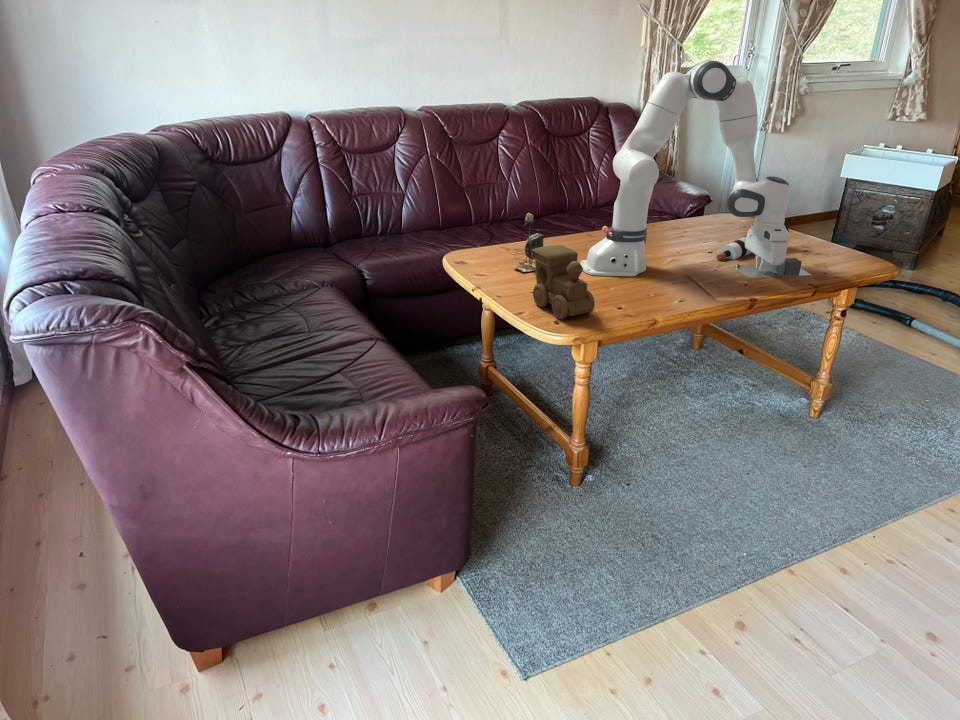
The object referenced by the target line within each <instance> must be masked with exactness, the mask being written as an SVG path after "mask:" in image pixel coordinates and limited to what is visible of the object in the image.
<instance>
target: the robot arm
mask: <svg viewBox="0 0 960 720" xmlns="http://www.w3.org/2000/svg"><path fill="white" fill-rule="evenodd" d="M692 99H698V100H703V101H714V102H715V103H716V105H717V108H718V114H719V115H718V116H719V117H718V118H719V128H720V129H719V130H720V134H721V137H722V141H723V143H724V145H725V146H727V148H728V149H729V150H730V152H731V155H732V159H733V167H734V169H733V171H734V178H735V179H734V183H733V188H732V189H731V192H730V193H729V194H730V195H728V198H727V201H726V206H727V209H728V211H729V213H730V214H731V215H732V216H734V217H736V218H750V217H753V218H754V217H755V219H754V222H753V223H752V224H751V225H750V228H749V229H748V231H747V234H746V235H747V237H746V241H745V248H746V249H748V250H749V251H751V252H753V253H752V254H753V255H755V262H756V263H755V265H756V268H757V269H758V270H760V271H765V268H766V265H767V264H768V263H770V264H771V265H782V264H783V262H784V260H785V258H787V257H786V255H787V252H788V246H789V244H788V242H789V241H790V240H791V234H790V231H789V232H788V231H787V229H786V227H785V225H784V223H785V220H786V219H785V218H786V217H785V216H786V215H785V214H786V211H787V209H788V205H789V202H790V201H789V200H790V194H791V193H790V192H791V187H790V184H789V182H788V181H787V180H786V179H783V178H781V177H777V176H766V177H764V178H763V179H761V180H758V179H757V175H756V165H755V164H756V162H755V152H754V151H755V143H756V140H757V134H758V133H757V132H758V124H759V123H758V122H759V119H758V118H759V117H758V116H759V115H758V106H757V105H758V104H757V99H756V94H755V90H754V86H753V84H752V82H751V81H750V80H749V79H745V78H735V76H734V75H733V73H732V72H731V71H730V69H729V67H728V66H727V65H725V63H723V62H721V61H717V60H713V59H710V60H703V61H701V62H698V63H696V64H695V65H693V66H691V68H689V69H688V70H687V71H685V72H684V73H682V72H679V71H670V72H666V73H665V74H664V75H663V76H662V77H661V78H660V79H659V81H658V82H657V84H656V86H655V87H654V89H653V91H652V93H651V94H650V96H649V98H648V100H647V102H646V104H645V106H644V108H643V111H642V113H640V114H641V115H640V117H639V119H638V120H637V123H636V125H635V126H634V129H633V130H632V132H631V133H629V136H628V138H627V139H626V140H625V142H624V143H623V144H622V147H621V148H620V149H619V150H618V151H617V153H616V154H615V156H614V157H613V160H612V169H613V173H614V174H615V176H616V177H617V178H618V179H619V180H620V182H619V184H620V185H619V190H618V194H617V197H616V200H615V201H614V203H613V204H614V205H613V213H612V215H613V216H612V225H611V226H609V227H608V226H607V225H604V226H602V228H601V230H602V232H603V233H604V234H605V237H603V238H602V239H601V240H600V241H598V242H597V243H595V244H594V245H592V246H591V247H590V248H589V250H588V252H587V257H586V259H584V260H580V261H579V262H580V264H581V266H582V267H583V271H582V272H584V273H586V274H588V275H590V276H606V277H607V276H611V277H636V276H638V274H642V273H644V272H646V270H647V263H646V257H645V255H646V254H645V249H646V248H645V246H646V244H647V243H646V241H647V239H648V238H647V236H648V228H647V221H648V212H649V206H650V205H649V204H650V201H651V199H652V195H653V190H654V186H655V184H656V183H657V181H658V180H659V176H660V169H659V166H658V164H657V161H656V160H655V159H654V157H655V156H656V154H657V153H658V152H659V151H660V149H661V148H662V147H663V145H664V144H666V143H667V142H668V140H669V139H670V137H671V136H672V133H673V131H674V129H675V127H676V125H677V124H678V123H677V122H678V121H679V119H680V116H681V115H682V112H683V110H684V108H685V106H686V105H687V104H688V103H689V101H691V100H692Z"/></svg>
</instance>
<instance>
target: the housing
mask: <svg viewBox="0 0 960 720" xmlns="http://www.w3.org/2000/svg"><path fill="white" fill-rule="evenodd" d="M785 264H786V259H785V260H784V262H783V264H782V265H777V269H776V271H768V272H764V271H760V270H758V269H757V268H756V264H748V265H747V264H746V265H740V264H735V265H732V268H734V269H735V270H737V271H738V272H740V273H741V274H742V275H744V276H745V277H747V278H748V279H749V278H767V277H769V278H771V277H772V278H774V277H798V276H799V277H801V276H812V274H811V273H809V272H807V271H806V270H805V269H803V268H802V267H801V268H800V273H794V274H785V273H784V269H785Z"/></svg>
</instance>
